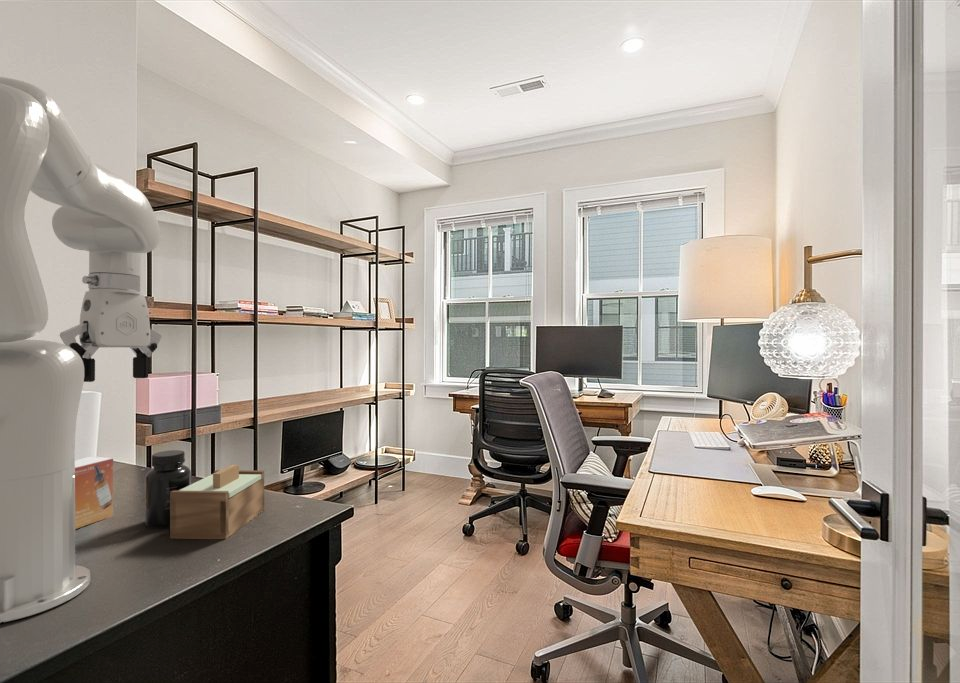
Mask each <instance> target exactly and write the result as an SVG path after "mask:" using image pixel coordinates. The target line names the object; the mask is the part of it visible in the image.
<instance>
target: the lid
mask: <svg viewBox="0 0 960 683" xmlns="http://www.w3.org/2000/svg"><path fill="white" fill-rule="evenodd" d="M219 470H220V471H218V472H216V473H214V472H213V473H212V474H210V475H208V476H206V477H203V478H202V479H199V480H197V481H196V482H193V483H191V485H189V486H187V487H185V488H183V489H181V490H179V491H228V498H230V497H232V496H234V495H235V494H237V493H239V492H240V491H242V490H244V489H245V488H247V487H249V486H250V485H252V484H254V483H255V482H257V481H258V480H260V479H261V474H239V470H240V464H234V463H233V464H231V465H228V466H226V467H225V468H221V469H219Z"/></svg>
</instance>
